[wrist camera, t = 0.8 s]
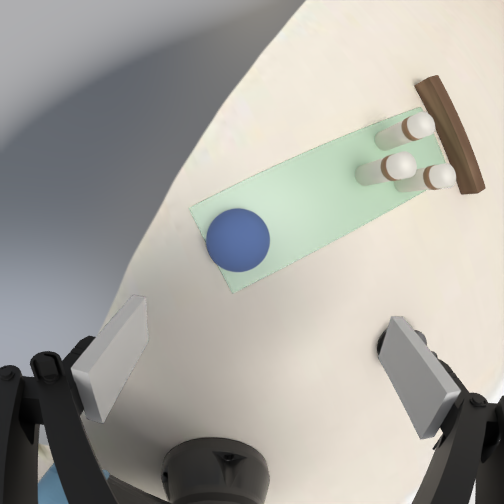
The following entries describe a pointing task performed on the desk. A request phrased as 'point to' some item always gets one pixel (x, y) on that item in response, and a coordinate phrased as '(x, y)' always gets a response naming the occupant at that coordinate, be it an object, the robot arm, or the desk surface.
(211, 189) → the desk surface
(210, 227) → the ball
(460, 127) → the backstop
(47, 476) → the robot arm
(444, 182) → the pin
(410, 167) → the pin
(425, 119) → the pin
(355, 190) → the lane mark
